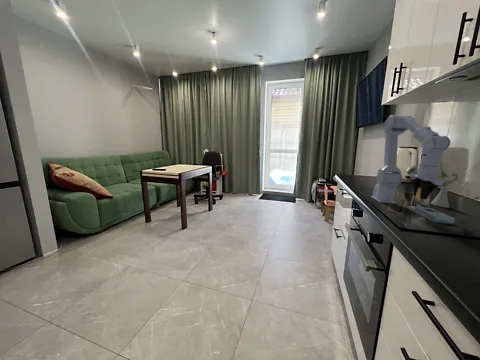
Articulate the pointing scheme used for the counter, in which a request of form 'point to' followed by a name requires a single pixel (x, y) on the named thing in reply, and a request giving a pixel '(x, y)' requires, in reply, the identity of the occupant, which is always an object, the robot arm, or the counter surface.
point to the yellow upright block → (418, 195)
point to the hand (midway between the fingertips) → (420, 197)
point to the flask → (441, 198)
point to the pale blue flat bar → (432, 214)
